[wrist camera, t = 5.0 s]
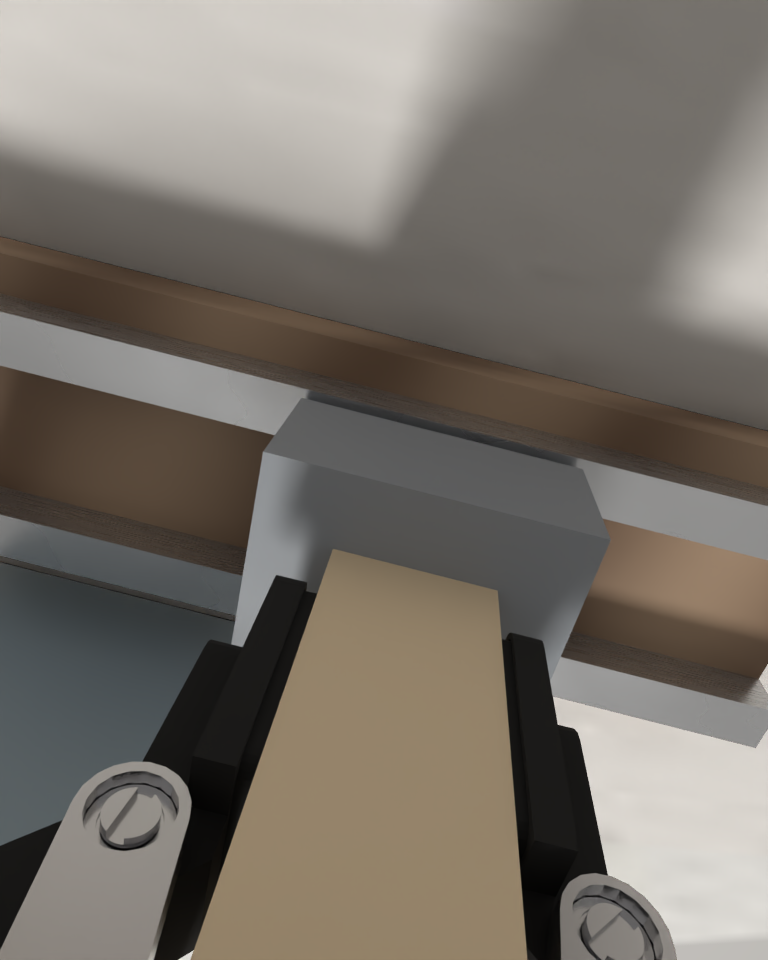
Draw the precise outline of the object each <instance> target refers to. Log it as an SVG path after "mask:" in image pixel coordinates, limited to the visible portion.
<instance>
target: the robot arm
mask: <svg viewBox="0 0 768 960" xmlns="http://www.w3.org/2000/svg"><path fill="white" fill-rule="evenodd" d="M306 590H307V582H304V581H300V580H296V579H292V578H287V577H283V576H279V575H276V576H275V578H274V580H273V582H272V584H271V586H270V589H269V591H268V593H267V595H266V597H265V599H264V602H263V604H262V606H261V608H260V610H259V612H258V615H257V617H256V619H255V621H254V623H253V625H252V628H251V630H250V632H249V634H248V636H247V638H246V641H245V643H244V645H243V647H240V646H236V645H232V644H228V643H224V642H220V641H216V640H212V639H211V640H209V641H208V642H207V644H206V645H205V647H204V648H203V650H202V652H201V654H200V656H199V658H198V660H197V661H196V663H195V665H194V667H193V669H192V671H191V672H190V674H189V676H188V678H187V680H186V682H185V683H184V685H183V687H182V689H181V691H180V693H179V695H178V696H177V698H176V700H175V702H174V704H173V706H172V707H171V709H170V711H169V713H168V715H167V717H166V719H165V720H164V722H163V724H162V726H161V728H160V730H159V731H158V733H157V735H156V737H155V739H154V741H153V743H152V744H151V746H150V748H149V750H148V752H147V754H146V755H145V757H144V759H143V761H142V762H127V763H123V764H118V765H114V766H112V767H109V768H107V769H105V770H103V771H101V772H99V773H97V774H96V775H94V776H93V777H92V778H91V779H90V780H88V781H87V782H86V783H85V784H83V785H82V787H81V788H80V790H79V791H78V793H77V794H76V796H75V797H74V798H73V800H72V802H71V804H70V806H69V808H68V810H67V812H66V814H65V817H64V819H63V820H61V821H59V822H56V823H54V824H51V825H49V826H47V827H44V828H42V829H39V830H37V831H34V832H32V833H30V834H27V835H25V836H22V837H20V838H17V839H15V840H13V841H10V842H8V843H5V844H3V845H0V960H178V959H180V958H181V957H183V956H185V955H186V954H188V953H190V952H191V951H193V950H194V949H195V946H196V943H197V940H198V937H199V934H200V931H201V928H202V925H203V923H204V920H205V917H206V914H207V911H208V908H209V905H210V902H211V899H212V897H213V894H214V891H215V888H216V885H217V882H218V879H219V876H220V873H221V871H222V868H223V865H224V862H225V859H226V856H227V853H228V850H229V847H230V845H231V842H232V839H233V836H234V833H235V830H236V827H237V824H238V821H239V819H240V816H241V813H242V810H243V807H244V804H245V801H246V798H247V795H248V793H249V790H250V787H251V784H252V781H253V778H254V775H255V772H256V769H257V767H258V764H259V761H260V758H261V755H262V752H263V749H264V746H265V743H266V741H267V738H268V735H269V732H270V729H271V726H272V723H273V720H274V717H275V715H276V712H277V709H278V706H279V703H280V700H281V697H282V694H283V691H284V689H285V686H286V683H287V680H288V677H289V674H290V671H291V668H292V665H293V663H294V660H295V657H296V654H297V651H298V648H299V645H300V642H301V639H302V637H303V634H304V631H305V628H306V625H307V622H308V619H309V616H310V613H311V611H312V608H313V605H314V602H315V599H316V596H317V593H313V592H309V591H306ZM502 650H503V663H504V675H505V688H506V700H507V712H508V725H509V737H510V750H511V762H512V775H513V787H514V800H515V812H516V825H517V837H518V850H519V862H520V874H521V887H522V899H523V912H524V924H525V937H526V949H527V960H677V957H676V952H675V947H674V944H673V941H672V938H671V935H670V932H669V929H668V928H667V926H666V924H665V923H664V921H663V919H662V918H661V916H660V914H659V912H658V911H657V910H656V909H655V908H654V907H653V906H652V905H651V903H650V902H649V901H648V900H647V899H646V898H645V897H644V896H643V895H642V894H640V893H639V892H638V891H636V890H635V889H634V888H632V887H631V886H630V885H628V884H626V883H624V882H622V881H620V880H618V879H616V878H614V877H612V876H608V874H607V869H606V865H605V860H604V855H603V850H602V845H601V840H600V835H599V830H598V825H597V821H596V816H595V811H594V806H593V801H592V796H591V791H590V786H589V781H588V777H587V772H586V767H585V762H584V757H583V752H582V747H581V742H580V739H579V736H578V733H577V732H576V730H575V729H573V728H569V727H565V726H560V725H558V724H557V718H556V713H555V707H554V701H553V695H552V689H551V683H550V677H549V671H548V665H547V660H546V654H545V648H544V643H543V641H542V640H539V639H535V638H531V637H527V636H523V635H519V634H515V633H509V634H508V635H507V637H506V639H505V640H504V639H502Z"/></svg>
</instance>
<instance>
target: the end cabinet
mask: <svg viewBox="0 0 768 960" xmlns="http://www.w3.org/2000/svg"><path fill="white" fill-rule="evenodd" d="M234 625H235V622H233V621H229V620H225V619H221V618H217V617H213V616H210V615H206V614H202V613H198V612H194V611H190V610H186V609H182V608H178V607H174V606H170V605H166V604H162V603H158V602H154V601H151V600H147V599H143V598H139V597H135V596H131V595H127V594H123V593H119V592H115V591H111V590H107V589H103V588H99V587H96V586H92V585H88V584H84V583H80V582H76V581H72V580H68V579H64V578H60V577H56V576H52V575H48V574H44V573H40V572H37V571H33V570H29V569H25V568H21V567H17V566H13V565H9V564H5V563H1V562H0V845H3V844H5V843H8V842H10V841H13V840H15V839H17V838H20V837H22V836H25V835H27V834H30V833H32V832H34V831H37V830H39V829H42V828H44V827H47V826H49V825H51V824H54V823H56V822H59V821H61V820H63V819H64V817H65V814H66V812H67V810H68V808H69V806H70V804H71V802H72V800H73V798H74V797H75V796H76V794H77V793H78V791H79V790H80V788H81V787H82V785H83V784H85V783H86V782H87V781H88V780H90V779H91V778H92V777H93V776H94V775H96V774H97V773H99V772H101V771H103V770H105V769H107V768H109V767H112V766H114V765H118V764H123V763H127V762H142V761H143V759H144V757H145V755H146V754H147V752H148V750H149V748H150V746H151V744H152V743H153V741H154V739H155V737H156V735H157V733H158V731H159V730H160V728H161V726H162V724H163V722H164V720H165V719H166V717H167V715H168V713H169V711H170V709H171V707H172V706H173V704H174V702H175V700H176V698H177V696H178V695H179V693H180V691H181V689H182V687H183V685H184V683H185V682H186V680H187V678H188V676H189V674H190V672H191V671H192V669H193V667H194V665H195V663H196V661H197V660H198V658H199V656H200V654H201V652H202V650H203V648H204V647H205V645H206V644H207V642H208V641H209V640H211V639H212V640H216V641H220V642H224V643H228V644H231V643H232V637H233V631H234Z"/></svg>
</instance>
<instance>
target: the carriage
mask: <svg viewBox="0 0 768 960" xmlns="http://www.w3.org/2000/svg"><path fill="white" fill-rule="evenodd" d="M610 541H611V539H610V536H609V534H608V531H607V529H606V526H605V524H604V521H603V519H602V516H601V514H600V511H599V509H598V506H597V504H596V501H595V499H594V496H593V493H592V491H591V488H590V486H589V483H588V481H587V478H586V476H585V473H584V471H583V469H581V468H577V467H573V466H569V465H565V464H561V463H557V462H553V461H549V460H545V459H541V458H537V457H533V456H529V455H525V454H521V453H517V452H513V451H510V450H506V449H502V448H498V447H494V446H490V445H486V444H482V443H478V442H474V441H470V440H466V439H462V438H458V437H454V436H450V435H446V434H443V433H439V432H435V431H431V430H427V429H423V428H419V427H415V426H411V425H407V424H403V423H399V422H395V421H391V420H387V419H383V418H379V417H376V416H372V415H368V414H364V413H360V412H356V411H352V410H348V409H344V408H340V407H336V406H332V405H328V404H324V403H320V402H316V401H312V400H308V399H305V398H301V399H300V401H299V402H298V403H297V405H296V406H295V408H294V409H293V410H292V412H291V413H290V415H289V416H288V417H287V419H286V420H285V422H284V423H283V424H282V426H281V427H280V429H279V430H278V431H277V433H276V434H275V436H274V437H273V438H272V440H271V441H270V443H269V444H268V445H267V447H266V448H265V450H264V451H263V455H262V461H261V467H260V474H259V480H258V486H257V492H256V498H255V504H254V510H253V516H252V522H251V528H250V534H249V540H248V546H247V552H246V558H245V564H244V570H243V577H242V583H241V589H240V595H239V601H238V607H237V613H236V619H235V625H234V631H233V637H232V643H231V644H232V645H236V646H240V647H243V645H244V643H245V641H246V638H247V636H248V634H249V632H250V630H251V628H252V625H253V623H254V621H255V619H256V617H257V615H258V612H259V610H260V608H261V606H262V604H263V602H264V599H265V597H266V595H267V593H268V591H269V589H270V586H271V584H272V582H273V580H274V578H275V576H276V575H279V576H283V577H287V578H292V579H296V580H300V581H304V582H307V590H306V591H309V592H313V593H317V596H316V599H315V602H314V605H313V608H312V611H311V613H310V616H309V619H308V622H307V625H306V628H305V631H304V634H303V637H302V639H301V642H300V645H299V648H298V651H297V654H296V657H295V660H294V663H293V665H292V668H291V671H290V674H289V677H288V680H287V683H286V686H285V689H284V691H283V694H282V697H281V700H280V703H279V706H278V709H277V712H276V715H275V717H274V720H273V723H272V726H271V729H270V732H269V735H268V738H267V741H266V743H265V746H264V749H263V752H262V755H261V758H260V761H259V764H258V767H257V769H256V772H255V775H254V778H253V781H252V784H251V787H250V790H249V793H248V795H247V798H246V801H245V804H244V807H243V810H242V813H241V816H240V819H239V821H238V824H237V827H236V830H235V833H234V836H233V839H232V842H231V845H230V847H229V850H228V853H227V856H226V859H225V862H224V865H223V868H222V871H221V873H220V876H219V879H218V882H217V885H216V888H215V891H214V894H213V897H212V899H211V902H210V905H209V908H208V911H207V914H206V917H205V920H204V923H203V925H202V928H201V931H200V934H199V937H198V940H197V943H196V946H195V949H194V951H193V954H192V957H191V960H527V949H526V937H525V924H524V912H523V899H522V887H521V874H520V862H519V850H518V837H517V825H516V812H515V800H514V787H513V775H512V762H511V750H510V737H509V725H508V712H507V700H506V688H505V675H504V663H503V650H502V639H504V640H505V639H506V637H507V635H508V634H509V633H515V634H519V635H523V636H527V637H531V638H535V639H539V640H542V641H543V643H544V648H545V654H546V660H547V665H548V671H549V677H550V681H551V678H552V676H553V674H554V671H555V669H556V667H557V664H558V662H559V660H560V657H561V655H562V653H563V650H564V648H565V646H566V643H567V641H568V639H569V636H570V634H571V632H572V629H573V627H574V625H575V622H576V620H577V618H578V615H579V613H580V611H581V608H582V606H583V604H584V601H585V599H586V597H587V594H588V592H589V590H590V588H591V585H592V583H593V581H594V578H595V576H596V574H597V571H598V569H599V567H600V564H601V562H602V560H603V557H604V555H605V553H606V550H607V548H608V546H609V543H610Z"/></svg>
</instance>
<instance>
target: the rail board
mask: <svg viewBox="0 0 768 960" xmlns="http://www.w3.org/2000/svg"><path fill="white" fill-rule="evenodd" d="M301 398H305V399H308V400H312V401H316V402H320V403H324V404H328V405H332V406H336V407H340V408H344V409H348V410H352V411H356V412H360V413H364V414H368V415H372V416H376V417H379V418H383V419H387V420H391V421H395V422H399V423H403V424H407V425H411V426H415V427H419V428H423V429H427V430H431V431H435V432H439V433H443V434H446V435H450V436H454V437H458V438H462V439H466V440H470V441H474V442H478V443H482V444H486V445H490V446H494V447H498V448H502V449H506V450H510V451H513V452H517V453H521V454H525V455H529V456H533V457H537V458H541V459H545V460H549V461H553V462H557V463H561V464H565V465H569V466H573V467H577V468H581V469H583V471H584V473H585V476H586V478H587V481H588V483H589V486H590V488H591V491H592V493H593V496H594V499H595V501H596V504H597V506H598V509H599V511H600V514H601V516H602V519H603V521H604V524H605V526H606V529H607V531H608V534H609V536H610V539H611V541H610V543H609V546H608V548H607V550H606V553H605V555H604V557H603V560H602V562H601V564H600V567H599V569H598V571H597V574H596V576H595V578H594V581H593V583H592V585H591V588H590V590H589V592H588V594H587V597H586V599H585V601H584V604H583V606H582V608H581V611H580V613H579V615H578V618H577V620H576V622H575V625H574V627H573V629H572V632H571V634H570V636H569V639H568V641H567V643H566V646H565V648H564V650H563V653H562V655H561V657H560V660H559V662H558V664H557V667H556V669H555V671H554V674H553V676H552V678H551V681H550V683H551V689H552V695H553V696H554V697H558V698H561V699H565V700H569V701H573V702H577V703H581V704H585V705H589V706H593V707H597V708H601V709H605V710H609V711H613V712H617V713H620V714H624V715H628V716H632V717H636V718H640V719H644V720H648V721H652V722H656V723H660V724H664V725H668V726H672V727H675V728H679V729H683V730H687V731H691V732H695V733H699V734H703V735H707V736H711V737H715V738H719V739H723V740H727V741H731V742H734V743H738V744H742V745H746V746H750V747H754V748H756V746H757V745H758V743H759V742H760V740H761V739H762V737H763V735H764V734H765V732H766V731H767V729H768V694H767V692H766V691H765V689H764V687H763V685H762V684H761V682H760V680H759V677H760V676H761V674H762V672H763V671H764V669H765V667H766V666H767V664H768V431H765V430H761V429H757V428H753V427H750V426H746V425H742V424H738V423H734V422H730V421H726V420H722V419H718V418H714V417H710V416H706V415H702V414H698V413H694V412H690V411H686V410H682V409H679V408H675V407H671V406H667V405H663V404H659V403H655V402H651V401H647V400H643V399H639V398H635V397H631V396H627V395H623V394H619V393H615V392H611V391H607V390H604V389H600V388H596V387H592V386H588V385H584V384H580V383H576V382H572V381H568V380H564V379H560V378H556V377H552V376H548V375H544V374H540V373H536V372H533V371H529V370H525V369H521V368H517V367H513V366H509V365H505V364H501V363H497V362H493V361H489V360H485V359H481V358H477V357H473V356H469V355H465V354H461V353H458V352H454V351H450V350H446V349H442V348H438V347H434V346H430V345H426V344H422V343H418V342H414V341H410V340H406V339H402V338H398V337H394V336H390V335H387V334H383V333H379V332H375V331H371V330H367V329H363V328H359V327H355V326H351V325H347V324H343V323H339V322H335V321H331V320H327V319H323V318H319V317H315V316H312V315H308V314H304V313H300V312H296V311H292V310H288V309H284V308H280V307H276V306H272V305H268V304H264V303H260V302H256V301H252V300H248V299H244V298H241V297H237V296H233V295H229V294H225V293H221V292H217V291H213V290H209V289H205V288H201V287H197V286H193V285H189V284H185V283H181V282H177V281H173V280H169V279H166V278H162V277H158V276H154V275H150V274H146V273H142V272H138V271H134V270H130V269H126V268H122V267H118V266H114V265H110V264H106V263H102V262H98V261H95V260H91V259H87V258H83V257H79V256H75V255H71V254H67V253H63V252H59V251H55V250H51V249H47V248H43V247H39V246H35V245H31V244H27V243H23V242H20V241H16V240H12V239H8V238H4V237H0V556H3V557H7V558H11V559H15V560H19V561H23V562H27V563H31V564H35V565H38V566H42V567H46V568H50V569H54V570H58V571H62V572H66V573H70V574H74V575H78V576H82V577H86V578H90V579H93V580H97V581H101V582H105V583H109V584H113V585H117V586H121V587H125V588H129V589H133V590H137V591H141V592H145V593H149V594H152V595H156V596H160V597H164V598H168V599H172V600H176V601H180V602H184V603H188V604H192V605H196V606H200V607H204V608H208V609H211V610H215V611H219V612H223V613H227V614H231V615H235V616H236V613H237V607H238V601H239V595H240V589H241V583H242V577H243V570H244V564H245V558H246V552H247V546H248V540H249V534H250V528H251V522H252V516H253V510H254V504H255V498H256V492H257V486H258V480H259V474H260V467H261V461H262V455H263V451H264V450H265V448H266V447H267V445H268V444H269V443H270V441H271V440H272V438H273V437H274V436H275V434H276V433H277V431H278V430H279V429H280V427H281V426H282V424H283V423H284V422H285V420H286V419H287V417H288V416H289V415H290V413H291V412H292V410H293V409H294V408H295V406H296V405H297V403H298V402H299V401H300V399H301Z"/></svg>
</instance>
